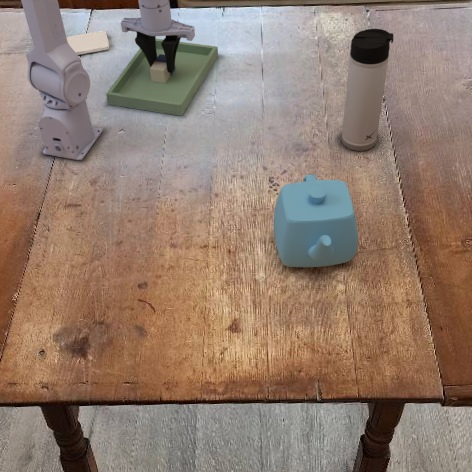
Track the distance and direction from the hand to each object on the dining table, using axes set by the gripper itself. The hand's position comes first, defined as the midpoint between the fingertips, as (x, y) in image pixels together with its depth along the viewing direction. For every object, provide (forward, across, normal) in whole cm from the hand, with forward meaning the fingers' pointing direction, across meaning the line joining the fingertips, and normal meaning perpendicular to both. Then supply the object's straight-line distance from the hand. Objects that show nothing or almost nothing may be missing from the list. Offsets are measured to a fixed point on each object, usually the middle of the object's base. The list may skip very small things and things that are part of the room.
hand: (163, 68), depth 137 cm
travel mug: (+2, -42, +11) cm, 44 cm away
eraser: (+1, 0, 0) cm, 1 cm away
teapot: (+2, -41, +41) cm, 58 cm away
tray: (+2, 0, +1) cm, 2 cm away
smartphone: (+2, +24, -6) cm, 24 cm away
